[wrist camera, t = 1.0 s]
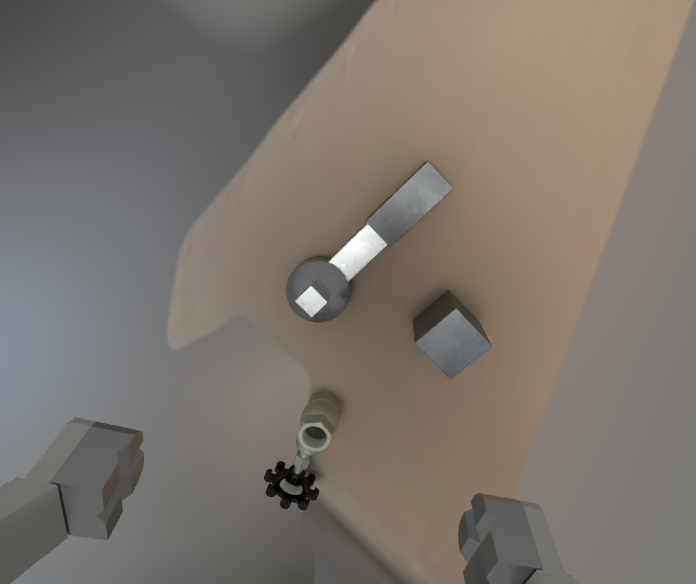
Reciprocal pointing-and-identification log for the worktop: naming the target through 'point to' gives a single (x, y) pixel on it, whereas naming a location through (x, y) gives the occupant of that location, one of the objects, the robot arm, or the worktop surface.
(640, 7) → the worktop surface
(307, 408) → the valve
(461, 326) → the plain grey cube
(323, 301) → the ratchet
